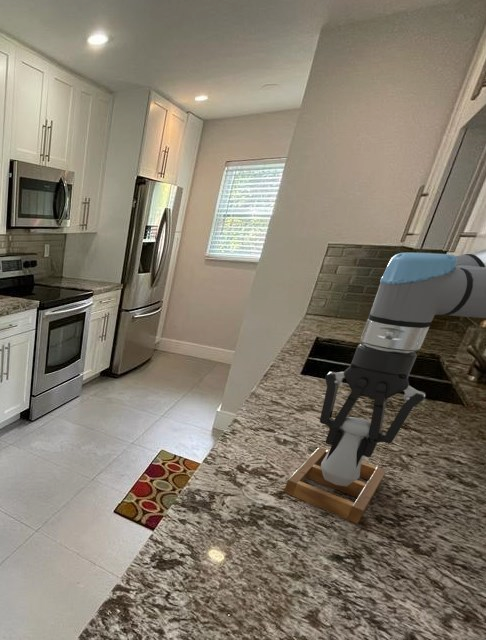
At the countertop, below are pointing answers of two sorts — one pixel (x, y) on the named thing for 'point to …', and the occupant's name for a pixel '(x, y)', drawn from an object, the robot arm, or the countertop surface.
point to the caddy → (329, 500)
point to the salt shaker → (346, 453)
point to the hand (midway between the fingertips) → (341, 464)
